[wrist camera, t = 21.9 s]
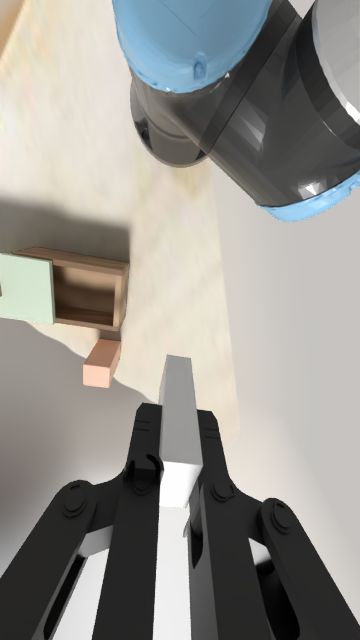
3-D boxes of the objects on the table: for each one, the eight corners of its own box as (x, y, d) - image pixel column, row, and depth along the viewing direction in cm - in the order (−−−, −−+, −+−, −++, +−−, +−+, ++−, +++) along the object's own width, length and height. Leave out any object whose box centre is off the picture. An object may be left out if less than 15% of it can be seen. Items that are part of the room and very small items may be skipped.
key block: (99, 338, 52) (83, 364, 43) (121, 341, 52) (109, 367, 43) (98, 356, 54) (83, 384, 45) (119, 359, 54) (108, 387, 45)
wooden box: (35, 246, 43) (11, 252, 37) (129, 262, 45) (122, 270, 38) (40, 304, 48) (20, 317, 42) (125, 316, 50) (118, 331, 43)
